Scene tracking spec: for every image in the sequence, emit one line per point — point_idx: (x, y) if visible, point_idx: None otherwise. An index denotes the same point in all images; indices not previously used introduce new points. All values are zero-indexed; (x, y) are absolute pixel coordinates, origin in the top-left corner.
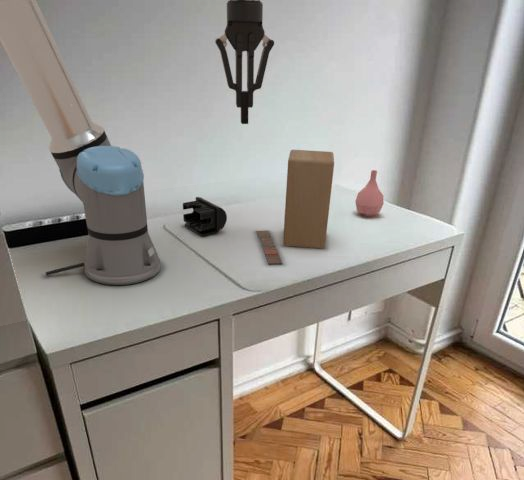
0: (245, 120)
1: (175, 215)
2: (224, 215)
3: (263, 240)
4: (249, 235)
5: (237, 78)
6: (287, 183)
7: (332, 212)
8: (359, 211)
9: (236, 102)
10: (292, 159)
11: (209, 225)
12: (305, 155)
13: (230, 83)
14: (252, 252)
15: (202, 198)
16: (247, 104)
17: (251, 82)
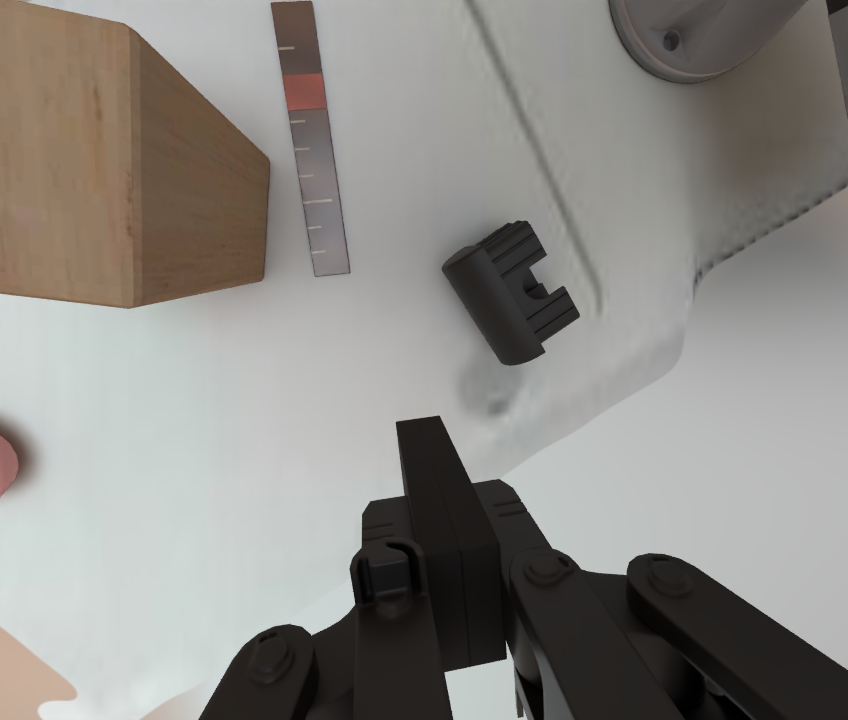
0: (417, 428)
1: (572, 389)
2: (450, 262)
3: (329, 192)
4: (371, 246)
5: (647, 692)
6: (191, 85)
7: (112, 463)
8: (6, 441)
9: (520, 504)
10: (103, 19)
11: (490, 235)
12: (19, 132)
13: (701, 600)
14: (361, 108)
15: (524, 347)
16: (416, 484)
17: (389, 683)
